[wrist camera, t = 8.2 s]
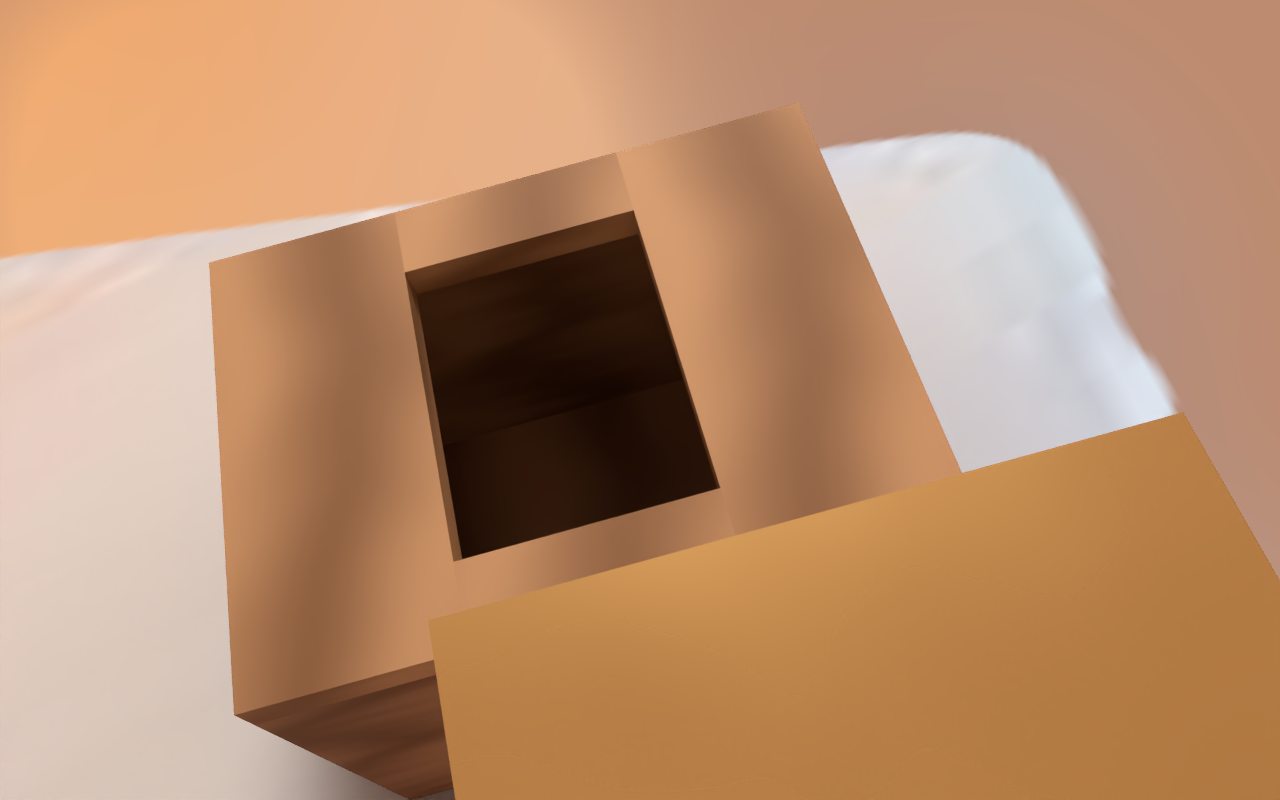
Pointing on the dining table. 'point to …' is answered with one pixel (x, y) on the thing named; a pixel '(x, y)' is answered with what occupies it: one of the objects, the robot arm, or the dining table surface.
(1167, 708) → the tan rectangular block
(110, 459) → the dining table surface
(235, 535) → the wooden box with opening
